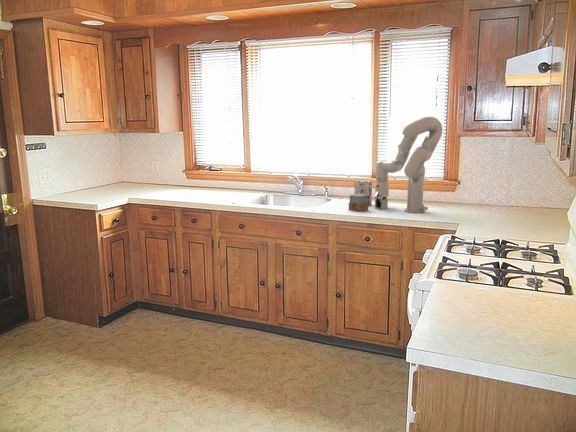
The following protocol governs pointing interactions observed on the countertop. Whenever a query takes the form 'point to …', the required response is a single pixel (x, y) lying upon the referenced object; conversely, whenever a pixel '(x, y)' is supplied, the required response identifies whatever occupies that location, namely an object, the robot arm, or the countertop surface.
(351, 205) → the lower block
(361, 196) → the upper block
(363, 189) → the candy bar box
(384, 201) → the green cube
